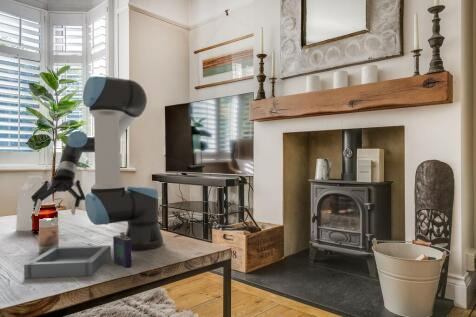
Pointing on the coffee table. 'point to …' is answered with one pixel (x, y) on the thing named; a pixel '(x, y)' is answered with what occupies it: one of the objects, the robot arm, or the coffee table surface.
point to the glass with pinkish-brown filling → (48, 234)
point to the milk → (28, 202)
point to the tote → (68, 262)
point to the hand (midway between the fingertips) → (54, 213)
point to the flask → (122, 250)
